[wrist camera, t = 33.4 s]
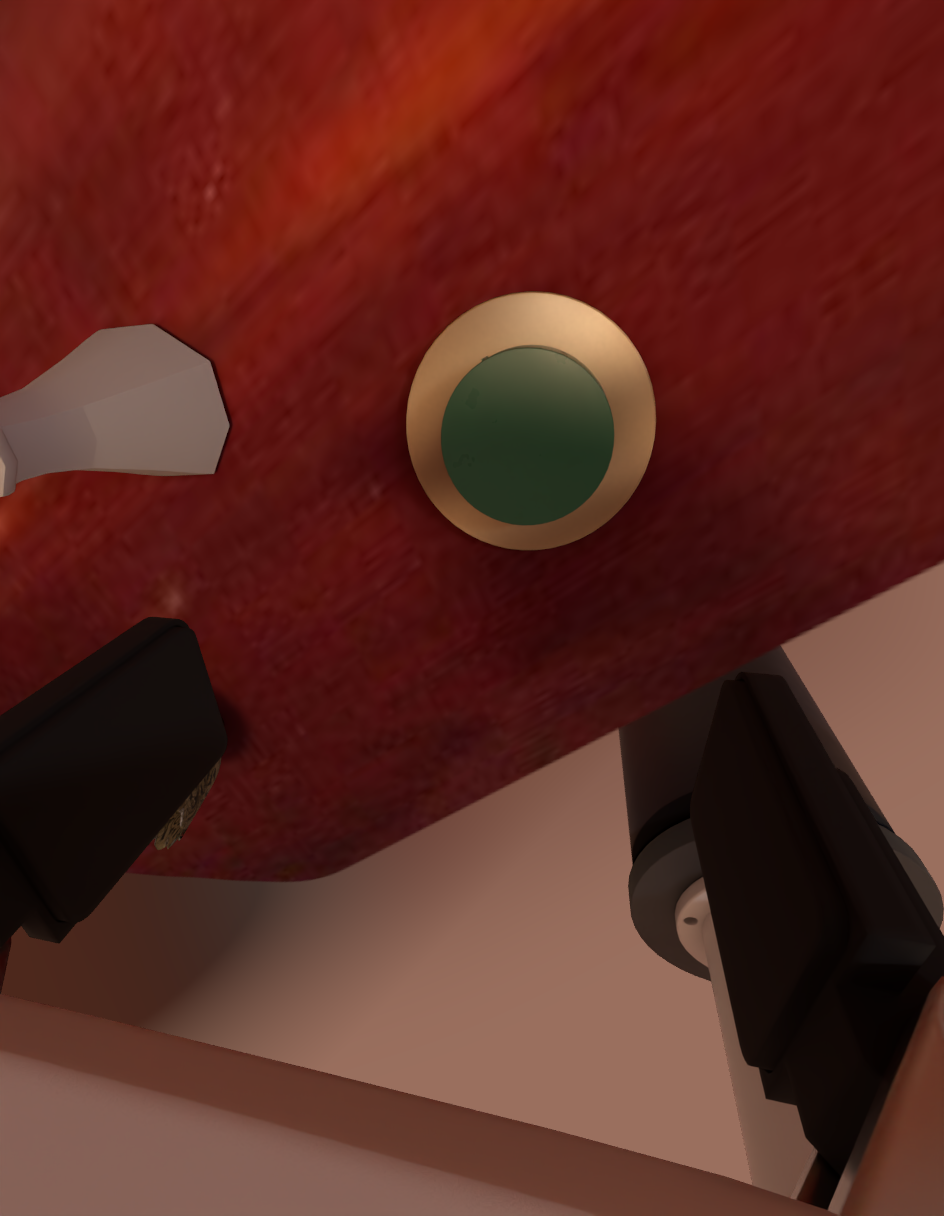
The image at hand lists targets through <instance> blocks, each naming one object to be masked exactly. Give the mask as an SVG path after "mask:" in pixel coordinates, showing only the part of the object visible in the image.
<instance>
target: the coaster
mask: <svg viewBox="0 0 944 1216" xmlns="http://www.w3.org/2000/svg"><path fill="white" fill-rule="evenodd" d="M522 345H543V346H548V347H553V348H556V349H558V350H561V351H564V352H566V353H568V354H570V355H571V356H573V357H575V358H576V359H578V360H579V361H580V362H582V363H583V364H584V365H585V366H586V367H587V368H588V369H589V370H590V371H591V372H592V373H593V374H594V376H595V377H596V379H597V380H598V381H599V383H600V385H601V387H602V388H603V390H604V392H605V395H606V398H607V400H608V403H609V406H610V409H611V413H612V417H613V422H614V447H613V453H612V458H611V461H610V464H609V467H608V470H607V472H606V474H605V476H604V478H603V480H602V482H601V483H600V485H599V487H598V488H597V489H596V491H595V492H594V493H593V494H592V496H591V497H590V498H589V499H588V500H587V501H586V502H585V503H584V504H583V505H581V506H580V507H579V508H577V509H576V510H575V511H573V512H572V513H570V514H568V515H566V516H564V517H562V518H560V519H557V520H555V521H552V522H548V523H545V524H539V525H524V526H522V525H513V524H508V523H504V522H500V521H498V520H495V519H492V518H490V517H488V516H486V515H485V514H483V513H481V512H480V511H478V510H477V509H475V508H474V507H473V506H472V505H471V504H469V503H468V502H467V501H466V500H465V499H464V497H463V496H462V495H461V494H460V493H459V492H458V490H457V489H456V487H455V486H454V484H453V482H452V480H451V479H450V477H449V475H448V472H447V469H446V467H445V464H444V460H443V456H442V449H441V427H442V420H443V416H444V412H445V409H446V406H447V404H448V401H449V399H450V397H451V395H452V393H453V391H454V390H455V388H456V386H457V385H458V384H459V382H460V381H461V380H462V379H463V377H464V376H465V375H466V374H467V373H468V372H469V371H470V370H471V369H472V368H474V367H475V366H476V365H478V364H479V363H480V362H482V360H481V359H483V358H484V357H486V356H488V357H490V356H492V355H494V354H496V353H498V352H500V351H503V350H505V349H508V348H512V347H516V346H522ZM655 428H656V408H655V399H654V393H653V388H652V383H651V380H650V377H649V374H648V371H647V368H646V366H645V364H644V362H643V360H642V358H641V356H640V354H639V352H638V350H637V349H636V348H635V346H634V345H633V343H632V342H631V340H630V339H629V338H628V336H627V335H626V334H625V333H624V332H623V331H622V330H621V329H620V328H619V327H618V325H617V324H616V323H615V322H613V321H612V320H611V319H609V318H608V317H607V316H606V315H604V314H603V313H602V312H601V311H599V310H597V309H595V308H593V307H592V306H590V305H588V304H586V303H585V302H582V301H579V300H577V299H574V298H571V297H569V296H565V295H560V294H555V293H551V292H536V291H528V292H518V293H511V294H507V295H503V296H499V297H495V298H493V299H490V300H488V301H486V302H483V303H481V304H479V305H477V306H475V307H473V308H472V309H470V310H468V311H467V312H465V313H463V314H462V315H461V316H459V317H458V318H457V319H456V320H455V321H453V322H452V323H451V324H450V325H448V326H447V328H446V329H445V330H444V331H443V332H442V333H441V334H440V335H439V336H438V337H437V338H436V340H435V341H434V342H433V344H432V345H431V347H430V348H429V350H428V351H427V352H426V354H425V356H424V358H423V360H422V362H421V363H420V365H419V367H418V369H417V372H416V375H415V378H414V380H413V383H412V386H411V390H410V395H409V399H408V406H407V415H406V433H407V441H408V448H409V453H410V457H411V460H412V464H413V467H414V470H415V472H416V475H417V477H418V480H419V481H420V483H421V485H422V487H423V489H424V491H425V492H426V494H427V495H428V497H429V498H430V500H431V501H432V502H433V504H434V505H435V506H436V507H437V508H438V510H439V511H440V512H441V513H442V514H443V515H444V516H445V517H446V518H447V519H448V520H450V521H451V522H452V523H453V524H454V525H455V526H457V527H458V528H460V529H461V530H463V531H464V532H466V533H467V534H469V535H471V536H473V537H475V538H477V539H479V540H481V541H483V542H486V543H489V544H492V545H495V546H499V547H503V548H507V549H516V550H541V549H549V548H554V547H558V546H562V545H566V544H568V543H571V542H573V541H576V540H579V539H581V538H583V537H584V536H586V535H588V534H590V533H592V532H594V531H595V530H597V529H598V528H599V527H601V526H602V525H604V524H605V523H606V522H607V521H609V520H610V519H611V518H612V517H613V516H614V515H615V514H616V513H617V512H618V511H619V510H620V509H621V508H622V507H623V506H624V504H625V503H626V502H627V501H628V500H629V498H630V497H631V495H632V494H633V492H634V491H635V489H636V488H637V486H638V485H639V483H640V481H641V479H642V477H643V475H644V473H645V470H646V468H647V465H648V462H649V459H650V456H651V453H652V448H653V443H654V439H655Z"/></svg>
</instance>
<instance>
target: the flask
mask: <svg viewBox="0 0 944 1216" xmlns="http://www.w3.org/2000/svg"><path fill="white" fill-rule="evenodd" d="M228 429H229V422H228V419H227V416H226V412H225V409H224V406H223V402H222V399H221V396H220V392H219V389H218V386H217V383H216V379H215V376H214V373H213V369H212V366H211V363H210V361H209V360H207V359H206V358H204V357H203V356H201V355H200V354H198V353H197V352H195V351H193V350H192V349H190V348H189V347H187V346H186V345H184V344H183V343H181V342H180V341H178V340H177V339H175V338H174V337H172V336H171V335H169V334H168V333H166V332H164V331H163V330H161V329H160V328H158V327H157V326H155V325H154V324H147V325H138V326H129V327H120V328H111V329H102V330H99V331H97V332H96V333H94V334H93V335H92V336H90V337H89V338H88V339H87V340H85V341H84V342H83V343H82V344H81V345H79V346H78V347H77V348H76V349H75V350H73V351H72V352H71V353H70V354H69V355H68V356H66V357H65V358H64V359H63V360H62V361H60V362H59V363H57V364H56V365H55V366H53V367H52V368H51V369H49V370H48V371H46V372H45V373H44V374H42V375H41V376H39V377H38V378H37V379H35V380H34V381H32V382H31V383H30V384H28V385H27V386H26V387H24V388H23V389H21V390H18V391H16V392H13V393H11V394H8V395H6V396H3V397H1V398H0V497H3V496H7V495H10V494H11V493H13V492H14V491H15V488H16V483H18V482H20V481H22V480H26V479H29V478H33V477H36V476H39V475H43V474H46V473H53V472H62V471H71V470H88V471H108V472H123V473H133V474H144V475H155V476H178V475H199V474H214V472H215V469H216V466H217V463H218V460H219V457H220V453H221V450H222V447H223V444H224V441H225V438H226V435H227V432H228Z"/></svg>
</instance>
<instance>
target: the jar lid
mask: <svg viewBox="0 0 944 1216" xmlns="http://www.w3.org/2000/svg"><path fill="white" fill-rule="evenodd" d="M481 360H482V362H480V363H479V364H478V365H476V366H475V367H474V368H472V369H471V370H470V371H469V372H468V373H467V374H466V375H465V376H464V377H463V379H462V380H461V381H460V382H459V384H458V385H457V386H456V388H455V390H454V391H453V393H452V395H451V397H450V399H449V401H448V404H447V406H446V409H445V412H444V416H443V420H442V427H441V449H442V456H443V460H444V464H445V467H446V469H447V472H448V475H449V477H450V479H451V480H452V482H453V484H454V486H455V487H456V489H457V490H458V492H459V493H460V494H461V495H462V496H463V497H464V499H465V500H466V501H467V502H468V503H469V504H471V505H472V506H473V507H474V508H475V509H477V510H478V511H480V512H481V513H483V514H485V515H486V516H488V517H490V518H492V519H495V520H498V521H500V522H504V523H508V524H513V525H522V526H524V525H539V524H545V523H548V522H552V521H555V520H557V519H560V518H562V517H564V516H566V515H568V514H570V513H572V512H573V511H575V510H576V509H577V508H579V507H580V506H581V505H583V504H584V503H585V502H586V501H587V500H588V499H589V498H590V497H591V496H592V494H593V493H594V492H595V491H596V489H597V488H598V487H599V485H600V483H601V482H602V480H603V478H604V476H605V474H606V472H607V470H608V467H609V464H610V461H611V458H612V453H613V447H614V422H613V417H612V413H611V409H610V406H609V403H608V400H607V398H606V395H605V392H604V390H603V388H602V387H601V385H600V383H599V381H598V380H597V379H596V377H595V376H594V374H593V373H592V372H591V371H590V370H589V369H588V368H587V367H586V366H585V365H584V364H583V363H582V362H580V361H579V360H578V359H576V358H575V357H573V356H571V355H570V354H568V353H566V352H564V351H561V350H558V349H556V348H553V347H548V346H543V345H522V346H516V347H512V348H508V349H505V350H503V351H500V352H498V353H496V354H494V355H492V356H490V357H488V356H486V357H484V358H483V359H481Z"/></svg>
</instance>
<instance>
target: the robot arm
mask: <svg viewBox="0 0 944 1216" xmlns="http://www.w3.org/2000/svg"><path fill="white" fill-rule="evenodd" d="M226 747H227V734H226V731H225V728H224V724H223V721H222V718H221V715H220V712H219V708H218V705H217V702H216V699H215V696H214V692H213V689H212V686H211V683H210V680H209V676H208V673H207V670H206V667H205V663H204V660H203V657H202V654H201V651H200V647H199V644H198V641H197V638H196V635H195V633H194V631H193V630H192V629H190V628H189V627H188V625H187V624H186V623H185V622H184V621H182V620H180V619H171V618H160V617H148V618H146V619H144V620H142V621H141V622H139V623H138V624H136V625H135V626H133V627H132V628H130V629H129V630H127V631H126V632H124V633H123V634H121V635H120V636H118V637H117V638H115V639H114V640H112V641H111V642H109V643H108V644H106V645H105V646H103V647H102V648H100V649H99V650H97V651H96V652H95V653H93V654H92V655H90V656H89V657H87V658H86V659H84V660H83V661H81V662H80V663H78V664H77V665H75V666H74V667H72V668H71V669H69V670H68V671H66V672H65V673H63V674H62V675H60V676H59V677H57V678H56V679H54V680H53V681H51V682H50V683H48V684H47V685H45V686H44V687H43V688H41V689H40V690H38V691H37V692H35V693H34V694H32V695H31V696H29V697H28V698H26V699H25V700H23V701H22V702H20V703H19V704H17V705H16V706H14V707H13V708H11V709H10V710H8V711H7V712H5V713H4V714H2V715H1V716H0V1216H944V936H943V934H942V932H941V930H940V929H939V927H938V925H937V924H936V922H935V920H934V919H933V917H932V915H931V914H930V912H929V910H928V908H927V907H926V905H925V903H924V902H923V900H922V898H921V897H920V895H919V893H918V892H917V890H916V888H915V886H914V885H913V883H912V881H911V880H910V878H909V876H908V875H907V873H906V871H905V869H904V868H903V866H902V864H901V863H900V861H899V859H898V858H897V856H896V854H895V853H894V851H893V849H892V847H891V846H890V844H889V842H888V841H887V839H886V837H885V836H884V834H883V832H882V831H881V829H880V827H879V825H878V824H877V822H876V820H875V819H874V817H873V815H872V814H871V812H870V810H869V809H868V807H867V805H866V803H865V802H864V800H863V798H862V797H861V795H860V793H859V792H858V790H857V788H856V786H855V785H854V783H853V782H852V780H851V779H850V778H849V777H848V775H847V774H846V773H845V772H843V771H841V770H840V769H836V768H835V767H834V765H833V763H832V761H831V760H830V758H829V756H828V754H827V753H826V751H825V749H824V747H823V746H822V744H821V742H820V740H819V739H818V737H817V735H816V733H815V732H814V730H813V728H812V726H811V724H810V723H809V721H808V719H807V717H806V716H805V714H804V712H803V710H802V709H801V707H800V705H799V703H798V702H797V700H796V698H795V696H794V695H793V693H792V691H791V689H790V688H789V686H788V684H787V682H786V681H785V679H784V678H783V677H782V676H779V675H768V674H758V673H747V672H741V673H739V674H738V675H737V677H736V679H735V681H734V680H726V681H725V682H724V683H723V685H722V688H721V692H720V695H719V699H718V703H717V706H716V710H715V713H714V717H713V721H712V724H711V728H710V732H709V735H708V739H707V743H706V746H705V750H704V754H703V757H702V761H701V764H700V768H699V772H698V775H697V779H696V783H695V786H694V790H693V794H692V797H691V803H690V818H691V824H692V829H693V833H694V838H695V843H696V847H697V852H698V856H699V861H700V866H701V870H702V875H703V877H701V878H700V879H698V880H697V881H695V882H694V883H692V884H691V885H690V886H689V887H688V888H687V889H686V890H685V891H684V892H683V893H682V895H681V897H680V898H679V900H678V902H677V904H676V909H675V921H676V929H677V933H678V936H679V940H680V942H681V943H682V945H683V946H684V948H685V949H686V951H688V952H689V953H690V954H691V955H692V956H693V957H694V958H695V959H696V960H697V961H699V962H701V963H702V964H704V965H705V966H707V967H708V968H709V972H710V977H711V982H712V987H713V992H714V997H715V1002H716V1007H717V1012H718V1017H719V1021H720V1027H721V1032H722V1037H723V1041H724V1047H725V1051H726V1056H727V1061H728V1066H729V1071H730V1076H731V1080H732V1086H733V1091H734V1096H735V1101H736V1106H737V1110H738V1116H739V1120H740V1126H741V1130H742V1135H743V1140H744V1145H745V1150H746V1155H747V1160H748V1165H749V1170H750V1174H751V1180H752V1185H753V1186H752V1185H749V1184H746V1183H743V1182H740V1181H737V1180H734V1179H731V1178H728V1177H725V1176H721V1175H718V1174H714V1173H710V1172H706V1171H703V1170H699V1169H696V1168H692V1167H688V1166H685V1165H680V1164H677V1163H673V1162H670V1161H666V1160H663V1159H659V1158H655V1157H651V1156H647V1155H644V1154H640V1153H637V1152H633V1151H629V1150H626V1149H622V1148H618V1147H615V1146H611V1145H607V1144H604V1143H600V1142H596V1141H593V1140H589V1139H585V1138H582V1137H578V1136H574V1135H570V1134H566V1133H563V1132H559V1131H556V1130H552V1129H548V1128H544V1127H540V1126H536V1125H532V1124H528V1123H524V1122H520V1121H516V1120H512V1119H508V1118H504V1117H500V1116H496V1115H492V1114H488V1113H484V1112H480V1111H476V1110H472V1109H468V1108H464V1107H460V1106H456V1105H452V1104H448V1103H444V1102H440V1101H436V1100H432V1099H428V1098H424V1097H420V1096H416V1095H412V1094H408V1093H404V1092H400V1091H396V1090H392V1089H388V1088H384V1087H380V1086H376V1085H372V1084H368V1083H364V1082H360V1081H356V1080H352V1079H348V1078H344V1077H340V1076H336V1075H332V1074H328V1073H324V1072H320V1071H316V1070H312V1069H308V1068H304V1067H300V1066H296V1065H292V1064H288V1063H284V1062H279V1061H275V1060H272V1059H267V1058H263V1057H259V1056H255V1055H251V1054H247V1053H243V1052H238V1051H235V1050H231V1049H227V1048H223V1047H218V1046H214V1045H210V1044H206V1043H202V1042H198V1041H194V1040H190V1039H186V1038H181V1037H178V1036H173V1035H169V1034H165V1033H161V1032H157V1031H153V1030H149V1029H145V1028H141V1027H136V1026H132V1025H128V1024H124V1023H120V1022H116V1021H111V1020H108V1019H104V1018H100V1017H95V1016H91V1015H87V1014H83V1013H79V1012H75V1011H71V1010H67V1009H62V1008H58V1007H54V1006H50V1005H46V1004H41V1003H37V1002H33V1001H29V1000H25V999H20V998H16V997H12V996H7V995H4V994H1V990H2V985H3V980H4V976H5V971H6V966H7V961H8V956H9V951H10V947H11V936H12V935H13V934H14V933H15V932H16V930H17V929H18V928H19V927H20V926H22V927H23V929H24V930H25V931H26V933H27V934H28V935H29V937H32V938H36V939H42V940H45V941H50V942H55V943H60V942H61V941H62V940H63V939H64V937H65V936H66V935H67V934H68V933H69V931H70V930H71V929H72V928H73V927H74V925H75V924H76V923H77V922H80V921H82V920H84V919H85V918H86V917H88V916H89V915H90V914H91V912H93V910H94V909H95V908H96V907H97V906H98V905H99V903H100V902H101V901H102V900H103V899H104V897H105V896H106V895H107V894H108V892H109V891H110V890H111V889H112V888H113V886H114V885H115V884H116V883H117V882H118V881H119V879H120V878H121V877H122V875H124V873H125V872H126V871H127V870H128V869H129V867H130V866H131V865H132V864H133V863H134V861H135V860H136V859H137V858H138V857H139V855H140V854H141V853H142V852H143V851H144V849H145V848H146V847H147V846H148V845H149V843H150V842H151V841H152V840H153V839H154V837H155V836H156V835H157V834H158V833H159V831H160V830H161V829H162V828H163V827H164V825H165V824H166V823H167V822H168V821H169V819H170V818H171V817H172V816H173V815H174V813H175V812H176V811H177V810H178V809H179V807H180V806H181V805H182V804H183V803H184V801H185V800H186V799H187V798H188V797H189V795H190V794H191V793H192V792H193V791H194V789H195V788H196V787H197V786H198V785H199V783H200V782H201V781H202V780H203V779H204V777H205V776H206V775H207V774H208V773H209V771H210V770H211V769H212V768H213V767H214V765H215V764H216V763H217V762H218V761H219V759H220V758H221V757H222V756H223V754H224V752H225V750H226Z"/></svg>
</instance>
